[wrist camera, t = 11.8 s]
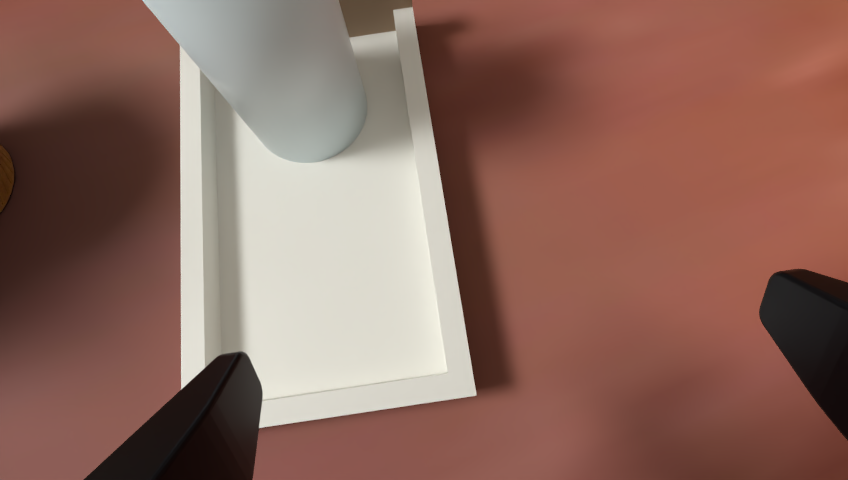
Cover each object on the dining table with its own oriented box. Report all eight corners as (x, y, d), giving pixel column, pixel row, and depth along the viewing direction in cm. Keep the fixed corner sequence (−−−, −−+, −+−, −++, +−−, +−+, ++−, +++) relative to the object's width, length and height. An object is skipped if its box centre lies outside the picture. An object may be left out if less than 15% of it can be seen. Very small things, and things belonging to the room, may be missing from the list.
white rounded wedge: (391, 108, 23) (331, -192, 10) (304, 186, 22) (122, -40, 9) (315, 40, 24) (179, -303, 12) (230, 111, 23) (-20, -178, 11)
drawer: (472, 390, 20) (479, 399, 16) (212, 429, 20) (158, 447, 16) (412, 25, 25) (407, -34, 21) (204, 56, 25) (162, 2, 21)
